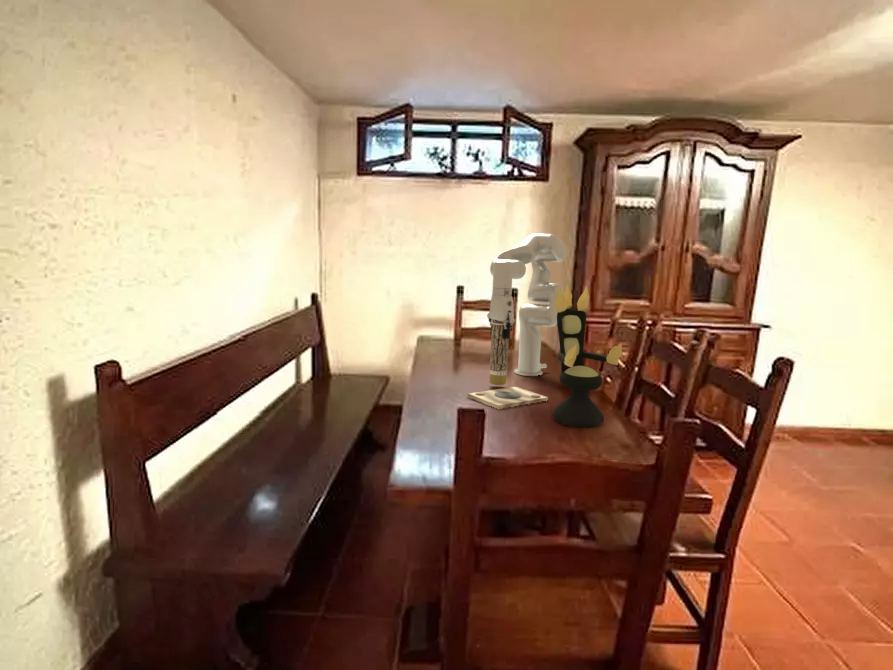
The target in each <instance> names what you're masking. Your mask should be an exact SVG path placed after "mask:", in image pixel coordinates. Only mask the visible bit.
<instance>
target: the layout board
mask: <svg viewBox="0 0 893 670" xmlns="http://www.w3.org/2000/svg"><path fill="white" fill-rule="evenodd" d="M467 398H468V399H470V400H473V399H474V400H473V401H475V400H476V402H478V401H479V402H478V403H480V402H481V404H483V405H486V406H488V407H491V406H492V407H491V408H493V407H494V408H493V409H496V408H497V409H496V410H498V409H499V410H504V409H503V408H505V409H509V408H508V407H511V408H515V407H514V406H517V407H520V406H519V405H522V406H525V405H524V404H528V405H530V404H529V403H534V402H540V403H542V402H541V401H546V402H548V401H549V396H545V395H542V394H539V393H536V392H533V391H530V390H527V389H525V388H523V387H522V388H521V387H518V386H512V387H505V388H497V389H491V390H484V391H483V390H482V391H477V392H470V393H467ZM547 400H548V401H547ZM534 404H535V403H534Z"/></svg>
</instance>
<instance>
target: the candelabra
mask: <svg viewBox="0 0 893 670" xmlns="http://www.w3.org/2000/svg"><path fill="white" fill-rule="evenodd" d="M572 299H573V294H572V291H571V289H570V286H569V284H568V283H567V284H566V287H565V290H564V294H563V293H562V291H561V289H560V288H559V286H558V291H557V294H556V298H555V302H554V307H555V309H556V311H557V312H558V313H557V324H556V326H557V332H558V333H557V334H558V340H559V348H560V349H559V350H560V352H559V353H558V355H557V359H558V360H559V361H560V364H561V365H560V369H561V370H560V371H561V373H560V374H559V378H558V379H559V383H560V384H561V385H562V386H564V387H565V388H567V389H570V393H569V396H568V397H567V398H566V399H564V400H563V401H562V402H560V403H559V404H558V405H556V406H555V408H554V409H553V412H552V418H553V419H554V420H555V421H556V422H558V423H560V424H561V425H565V426H570V427H573V428H594V427H599V426H600V425H602V424H603V423H604V422H605V417H604V414H603V412H602V411H601V409H600V408H599V407H598V406H597V404H596V403H594V402H593V400H592V398H590V391H594V390H597V389H599V388H600V387H601V386H602V385H603V381H604V379H603V377H602V376H601V375H600V374H599V372H597V371H596V370H595V369H593V368H592V367H589V366H586V365H584V359H589V360H593V361H599V362H601V363H603V362H604V363H608V364H610V365H616V366H618V365H619V360H620V358H621V357H623V343H622V342H620V343H619V344H617V345H615V346H613V347H612V348H611V349H610V350H609V352H608V354H607V355H606V354H600V353H595V352H590V351H584V346H585V335H586V334H585V333H586V327H587V325H586V323H587V313H586V311H587V310H588V309H589V302H590V294H589V288H588V285H586V286H585V287H584V290H583V292H582V293H581V294H580V296H579V298H578V300H577V302H576V305H577V309H576V308H572V306H573V303H572V302H573V300H572Z"/></svg>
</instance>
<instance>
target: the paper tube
mask: <svg viewBox="0 0 893 670" xmlns="http://www.w3.org/2000/svg"><path fill="white" fill-rule="evenodd" d="M507 324H508V323H506V325H507ZM503 329H504V326H503V322H501V321H494V322H492V334H491V333H490V334H491V335H490V338H491V339H490V341H491V342H490V362H489V363H490V364H489V383H490V384H491V385H494V386H504V385H506V384H507V378H508V377H507V375H508V356H509V355H508V354H509V353H508V352H509V339H503Z"/></svg>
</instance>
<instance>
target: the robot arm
mask: <svg viewBox="0 0 893 670" xmlns="http://www.w3.org/2000/svg"><path fill="white" fill-rule="evenodd" d="M567 256H568V250H567V246H566V245H565V243H564V242H563V240H561V238H560V237H558V236H557V235H555V234H553V233H531V234H529V235H527V236H526V238H524V240H523V241H522V242H521V243H520V244H519V245H518V246H514V247H512V248H510V249H507V250H505V251H501V252H500V253H499V254H497V255H496V256H495V258H494V259H493V260H492V261H491V263H490V267H489V271H490V274H491V276H492V291H491V292H492V294H491V297H490V299H491V300H490V304H489V312H488V313H487V314H486V316H487V319H488V322H489V325H490V336H491V334H492V322H494V321H501V322H503V326H504V329H503V339H508V340H509V339H510V336H511V329H512V327H513V326H514V324H515V322H516V319H515V317H514V316H515V309H514V308H515V306H514V299H513V296H512V294H513V293H512V292H513V289H512V287H513V280H520V279H522V278H523V277H524V276H525V275H526V272H527V268H526V265H528V264H531V267H532V273H531V279H530V282H529V286H528V290H527V299H528V300H529V302H531V303H524V304H522V305H521V306H520V308H519V311H518V318H519V343H518V344H519V345H518V360H517V361H518V362H517V368H514V371H513V372H514V374H516V375H519V376H524V377H525V376H526V377H538V375H540V376H542V375H543V371H542V369H546V368H547V367H548V365H547V364H546V363H541V361H540V360H541V346H542V334H541V330H540V329H539V327H546V328H553V327H555V326H557V313H558V312H557V311H556V309H555V307H554V302H555V298H556V294H557V291H558V286H559V288H560V289H561V291H562V293H563V294H564V292H565V290H564V288H563V285H562V284H560V283H558V282H551V278H552V271H551V269H550V267H549V266H548V265H547V263H548V262H550V263H561V262H564V261H565V260H566V259H567ZM546 262H547V263H546ZM506 323H508V324H507V325H506Z"/></svg>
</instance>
